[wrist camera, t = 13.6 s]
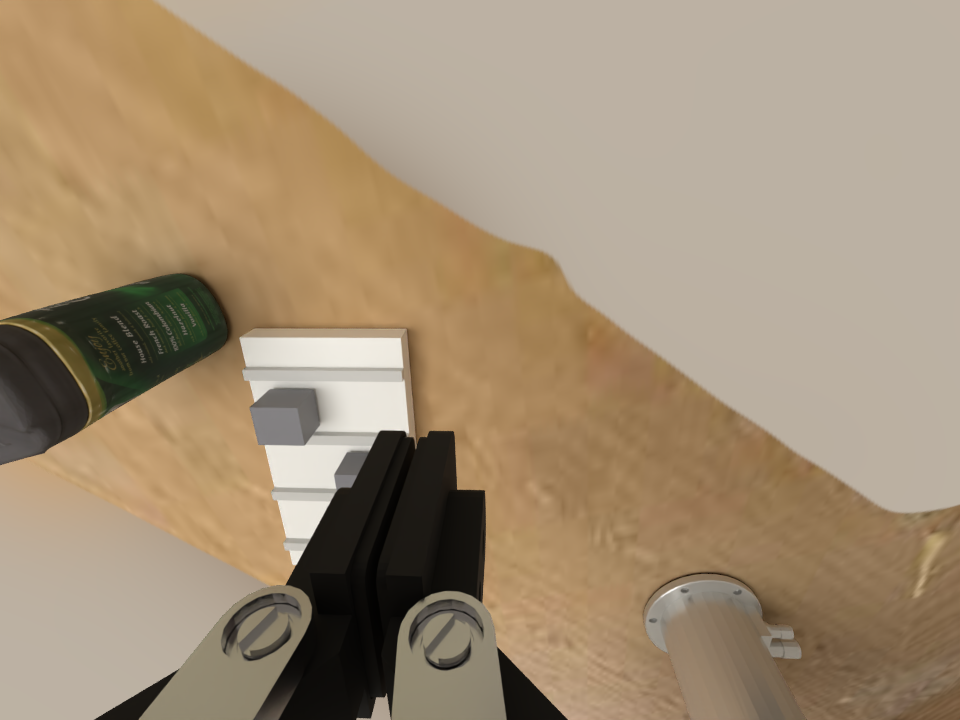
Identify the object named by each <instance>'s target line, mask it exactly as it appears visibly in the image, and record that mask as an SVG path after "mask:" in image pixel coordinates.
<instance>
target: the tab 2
mask: <svg viewBox="0 0 960 720" xmlns="http://www.w3.org/2000/svg"><path fill="white" fill-rule="evenodd" d="M367 455H368V453H359V452H347V453H346V455H345V456H344V458H343V460H342V462H341V463H340V465H339V467H338V469H337V470H336V472H335V474H334V478H335V484H336V490H338V489H339V488H341V487H348V488H351V487H352V485H353V483H354V481H355V479H356V477H357V475H358V473H359V471H360V469H361V467H362V465H363V463H364V461H365V459H366V457H367Z"/></svg>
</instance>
